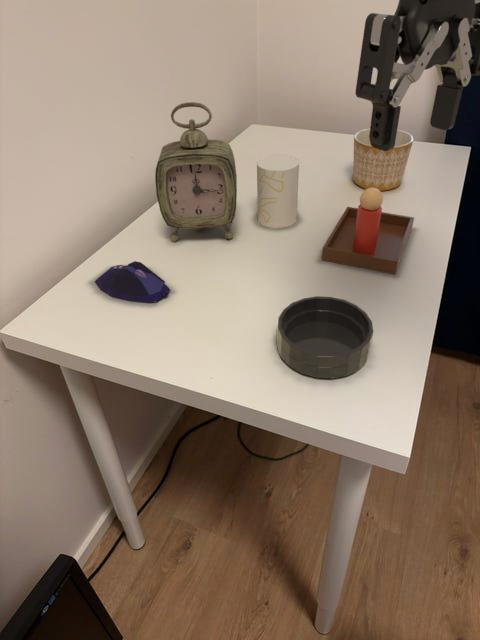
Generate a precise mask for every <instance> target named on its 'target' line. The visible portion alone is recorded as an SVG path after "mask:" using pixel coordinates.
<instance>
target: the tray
mask: <svg viewBox="0 0 480 640" xmlns="http://www.w3.org/2000/svg"><path fill="white" fill-rule="evenodd" d="M357 212H358V207H352V206H346V208H345V210H344V212H343V213H342V215H341V217H340V218H339V220H338V221H337V223H336V224H335V226H334V228H333V230H332V231H331V233H330V234H329V237H328V238H327V240H326V242H325V243H324V245H323V246H322V251H321V252H322V253H321V261H325V262H330V263H334V264H340V265H346V266H350V267H355V268H361V269H365V270H369V271H370V270H371V271H375V272H379V273H380V272H381V273H386V274H390V275H397V272H398V269H399V266H400V263H401V260H402V257H403V255H404V252H405V250H406V247H407V244H408V241H409V238H410V235H411V232H412V230H413V225H414V220H415V217H414V216H408V215H404V214H403V215H402V214H396V213H390V212H383V211H382V212H381V218H380V225H379V231H378V237H377V243H376V249H375V255H374V256H373V255H367V254H362V253H357V252H352V251H353V243H354V235H355V227H356V219H357Z"/></svg>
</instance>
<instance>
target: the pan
mask: <svg viewBox="0 0 480 640" xmlns="http://www.w3.org/2000/svg"><path fill="white" fill-rule="evenodd" d="M373 336H374V324H373V321H372V320H371V318H370V317H369V314H368V313H367V312H366V311H364V310H363V309H362V308H361V307H359V305H356V304H355V303H353V302H350V301H349V300H346V299H342V298H338V297H333V296H322V295H321V296H309V297H305V298H300V299H298V300H296V301H294V302H293V301H292V303H290V304H289V305H288V306H286V307H285V308H283V309H282V311H281V313H280V315H279V317H278V319H277V344H276V345H277V346H276V347H277V350H278V354H279V356H280V358H281V359H282V360H283V361H284V362H285V363H286V364H287V366H288V367H290V368H291V369H293V370H295V371H297V372H298V373H300V374H301V375H306V376H309V377H312V378H316V379H337V378H343V377H347V376H349V375H351V374H353V373H355V372H358V371H359V370H360V369H361V368H362V367H363V366H364V365H365V364H366V363H367V362H368V358H369V356H370V353H371V347H372V342H373Z"/></svg>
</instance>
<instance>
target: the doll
mask: <svg viewBox="0 0 480 640" xmlns="http://www.w3.org/2000/svg"><path fill="white" fill-rule="evenodd" d="M383 202H384V196H383V193H382V191H379V190H378V189H376V188H368V189H364V190H363V191H362V192H361V193H360V196H359V204H358V206H357V208H358V212H357V219H356V227H355V235H354V243H353V251H352V252H357V253H362V254H367V255H373V256H374V255H375V249H376V243H377V237H378V231H379V225H380V218H381V212H383V211H382V210H383V207H382V205H383Z"/></svg>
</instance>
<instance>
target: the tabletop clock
mask: <svg viewBox="0 0 480 640" xmlns="http://www.w3.org/2000/svg"><path fill="white" fill-rule="evenodd" d="M184 108H200V109H203V110H204V111H206V112H207V114H208V118H207V119H206V120H205V121H203V122H201V123H196V120H194V119H192V118H191V119H189V120H188V123H187V124H186V123H181V122H178V120H177V121H176V119H175V117H174V115H175V114H176V112H178V110H181V109H184ZM212 117H213V114H212V112H211V109H210V108H209V107H208V106H207V105H205V104H203V103H201V102H195V101H193V102H192V101H191V102H189V101H188V102H183V103H180V104H178V105H176V106H175V107H174V108H173V109H172V111H171V113H170V119H171V121H172V123H173V124H174V125H176V126H177V127H179V128H182V129H186V130H185V131H183V132H182V133H181V136H180V139H179V140H178V141H177V140H176V141H171V142H168V143H167V144H165V145H163V146H162V148H161V150H160V154H159V157H158V159H157V163H156V167H155V176H154V177H155V178H154V179H155V181H154V182H155V192H156V199H157V202H158V203H157V204H158V207H159V210H160V214H161V216H162V217H161V218H162V219H163V221H164V222H165V224H166V226H168V227H171V228H174V229H175V231H174V232H173V233H171V234H170V240H171V241H172V242H178V241H179V240H180V239H179V238H180V237H179V234H178V233H179V232H180V229H181V230H205V229H214V228H223V230H224V231H225V234H224V237H225V239H226V240H231V239H233V237H234V234H233V232H232V231H231V230H229V229H228V225H231V224H233V221H234V220H235V217H236V212H237V195H238V189H237V188H238V182H237V178H238V177H237V169H236V167H237V166H236V160H235V159H236V158H235V156H234V151H233V150H232V147H231V145H230V143H229V142H226V141H223V140H220V139H219V140H218V139H208V136H207V135H206V133H205V132H204V131H203V130H201V128H203V127H205V126H207V125H208V124H209V123H210V122H211V120H212Z"/></svg>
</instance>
